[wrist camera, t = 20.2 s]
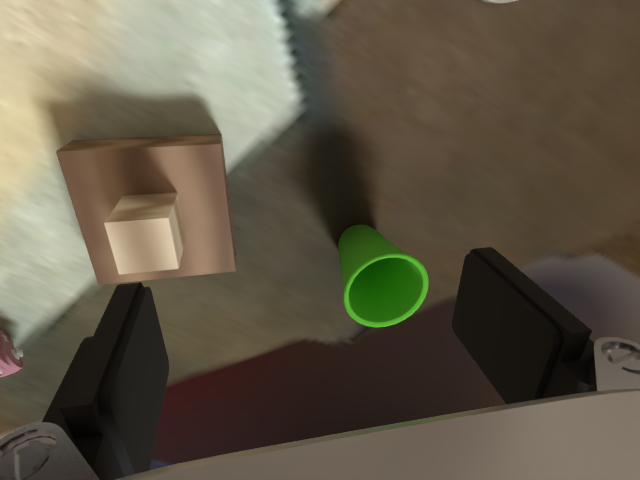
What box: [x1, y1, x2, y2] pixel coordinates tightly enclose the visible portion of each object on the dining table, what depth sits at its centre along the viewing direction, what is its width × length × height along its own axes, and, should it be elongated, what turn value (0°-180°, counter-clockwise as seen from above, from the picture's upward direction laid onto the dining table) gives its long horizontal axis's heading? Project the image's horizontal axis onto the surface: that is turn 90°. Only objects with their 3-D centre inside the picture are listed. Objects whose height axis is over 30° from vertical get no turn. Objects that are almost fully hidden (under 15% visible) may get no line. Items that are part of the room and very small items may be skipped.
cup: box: [338, 225, 428, 327], centre depth 44 cm, size 9×9×11 cm
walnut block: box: [56, 134, 236, 285], centre depth 40 cm, size 14×14×4 cm
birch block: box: [104, 192, 186, 275], centre depth 36 cm, size 5×5×6 cm
